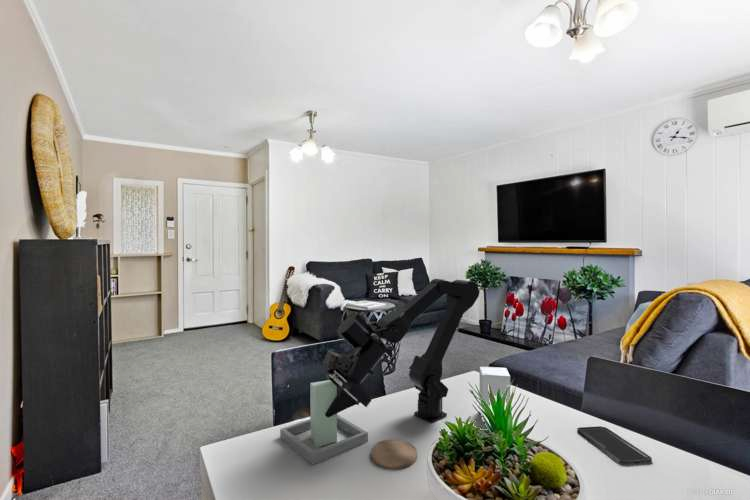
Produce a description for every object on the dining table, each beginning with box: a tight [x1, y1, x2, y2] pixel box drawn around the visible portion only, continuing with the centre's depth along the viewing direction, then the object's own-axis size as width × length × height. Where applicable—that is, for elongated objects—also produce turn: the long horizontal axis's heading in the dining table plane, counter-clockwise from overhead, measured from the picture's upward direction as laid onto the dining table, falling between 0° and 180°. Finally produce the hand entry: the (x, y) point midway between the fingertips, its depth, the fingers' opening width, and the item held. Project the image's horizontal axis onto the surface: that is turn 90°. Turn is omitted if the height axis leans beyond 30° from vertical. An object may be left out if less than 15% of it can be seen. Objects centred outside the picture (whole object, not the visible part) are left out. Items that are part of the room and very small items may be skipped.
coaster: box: [370, 438, 418, 470], centre depth 83 cm, size 10×10×1 cm
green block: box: [309, 379, 338, 447], centre depth 90 cm, size 5×5×13 cm
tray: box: [279, 414, 369, 465], centre depth 90 cm, size 15×15×2 cm
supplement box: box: [478, 366, 511, 423], centre depth 101 cm, size 7×7×13 cm
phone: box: [576, 425, 653, 466], centre depth 87 cm, size 8×1×15 cm
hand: (322, 411), depth 90 cm, fingers closed on green block, 5 cm apart
